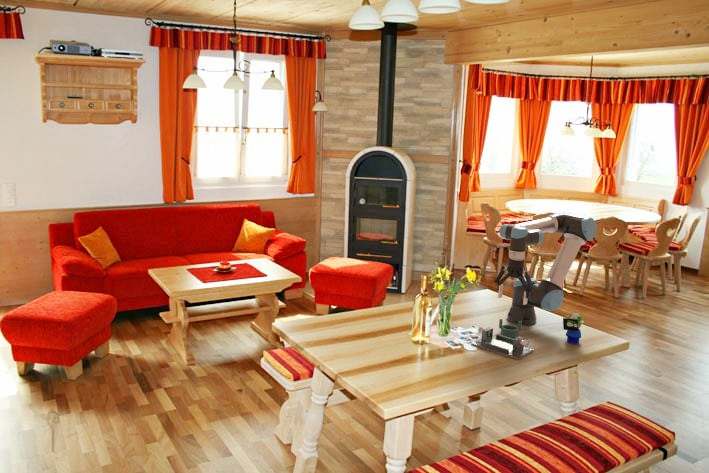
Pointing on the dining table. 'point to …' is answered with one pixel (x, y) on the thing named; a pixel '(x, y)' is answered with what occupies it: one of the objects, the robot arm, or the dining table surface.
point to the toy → (573, 327)
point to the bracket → (510, 329)
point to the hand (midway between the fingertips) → (512, 300)
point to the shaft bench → (503, 344)
